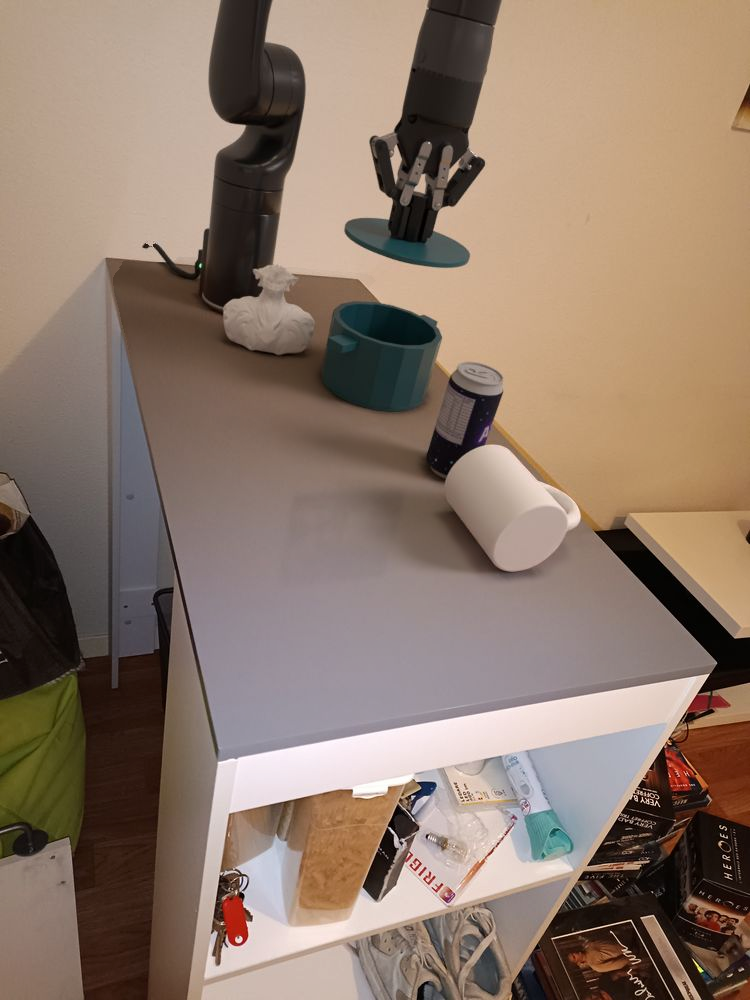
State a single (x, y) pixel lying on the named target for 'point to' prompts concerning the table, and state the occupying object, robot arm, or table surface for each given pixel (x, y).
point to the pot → (380, 355)
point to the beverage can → (464, 415)
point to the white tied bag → (269, 316)
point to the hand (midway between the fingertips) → (407, 238)
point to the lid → (408, 239)
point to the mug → (508, 508)
